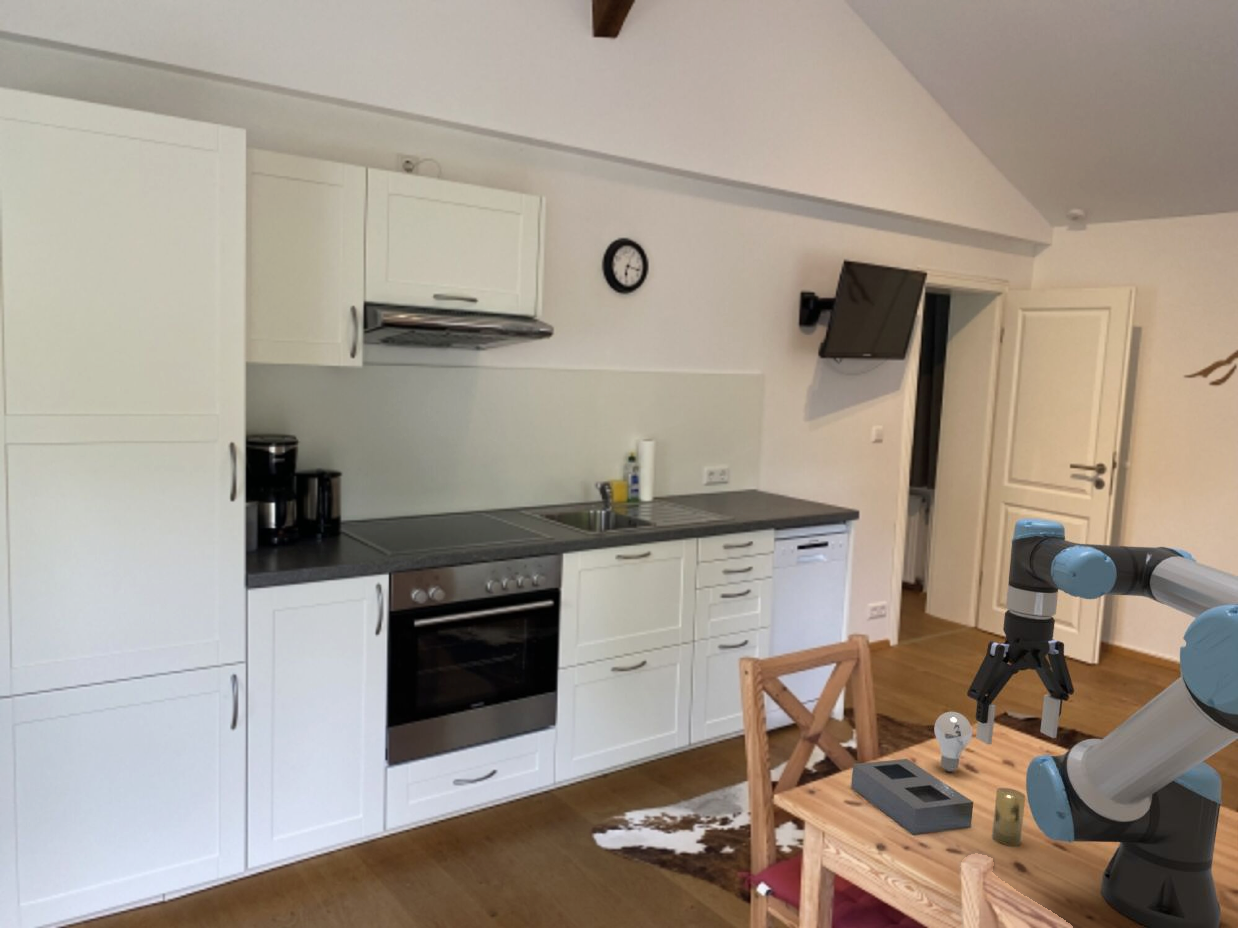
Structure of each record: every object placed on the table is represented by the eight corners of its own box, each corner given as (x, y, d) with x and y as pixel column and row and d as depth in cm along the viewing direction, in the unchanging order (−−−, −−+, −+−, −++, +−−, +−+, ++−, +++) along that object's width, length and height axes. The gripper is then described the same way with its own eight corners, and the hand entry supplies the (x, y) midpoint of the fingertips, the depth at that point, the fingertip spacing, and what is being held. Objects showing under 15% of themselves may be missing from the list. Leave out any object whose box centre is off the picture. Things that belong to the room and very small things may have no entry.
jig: (970, 826, 156) (973, 801, 155) (913, 834, 152) (915, 808, 151) (904, 781, 173) (906, 758, 172) (851, 787, 168) (853, 763, 168)
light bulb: (962, 765, 182) (968, 708, 181) (972, 780, 175) (978, 720, 174) (926, 762, 182) (932, 704, 181) (935, 777, 175) (941, 717, 174)
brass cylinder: (1026, 844, 151) (1031, 798, 150) (1005, 847, 149) (1010, 800, 149) (1006, 831, 155) (1011, 786, 154) (986, 834, 153) (990, 789, 153)
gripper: (1070, 605, 156) (1056, 723, 158) (952, 609, 148) (940, 734, 150) (1106, 616, 149) (1092, 740, 151) (985, 621, 141) (971, 753, 143)
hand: (1016, 738), depth 151 cm, fingers open, 13 cm apart
